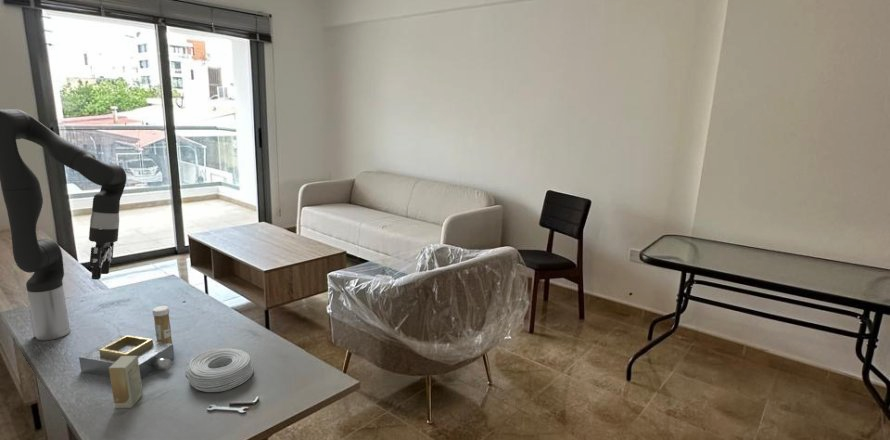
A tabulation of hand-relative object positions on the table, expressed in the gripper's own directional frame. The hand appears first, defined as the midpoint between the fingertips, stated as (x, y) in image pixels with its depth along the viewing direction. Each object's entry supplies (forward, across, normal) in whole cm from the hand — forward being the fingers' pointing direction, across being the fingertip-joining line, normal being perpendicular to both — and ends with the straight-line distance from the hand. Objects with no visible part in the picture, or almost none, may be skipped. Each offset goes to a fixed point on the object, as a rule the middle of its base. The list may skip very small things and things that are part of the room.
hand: (100, 276), depth 152 cm
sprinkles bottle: (+22, +2, +20) cm, 30 cm away
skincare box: (+27, +33, +17) cm, 46 cm away
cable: (+23, +28, +40) cm, 54 cm away
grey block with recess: (+24, +14, +14) cm, 31 cm away
